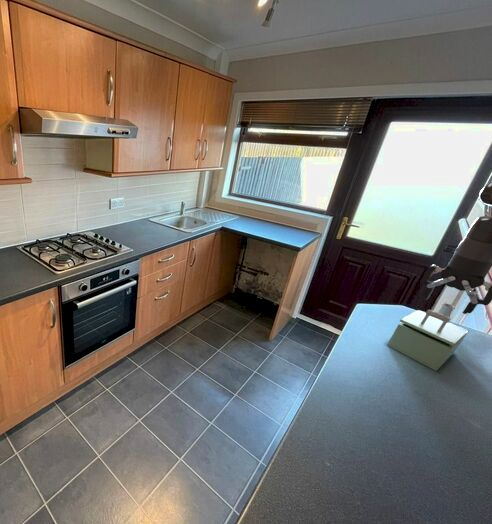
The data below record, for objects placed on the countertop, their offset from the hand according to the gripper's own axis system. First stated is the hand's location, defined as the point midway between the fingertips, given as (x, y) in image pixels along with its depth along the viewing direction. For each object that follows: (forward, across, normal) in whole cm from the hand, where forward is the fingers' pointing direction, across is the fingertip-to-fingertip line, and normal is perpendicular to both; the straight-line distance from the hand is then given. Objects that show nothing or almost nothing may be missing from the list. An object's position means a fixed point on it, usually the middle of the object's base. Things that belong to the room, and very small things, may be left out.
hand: (444, 305), depth 82 cm
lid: (+9, 0, -4) cm, 10 cm away
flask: (+19, +2, -26) cm, 33 cm away
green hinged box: (+19, 0, -4) cm, 20 cm away
